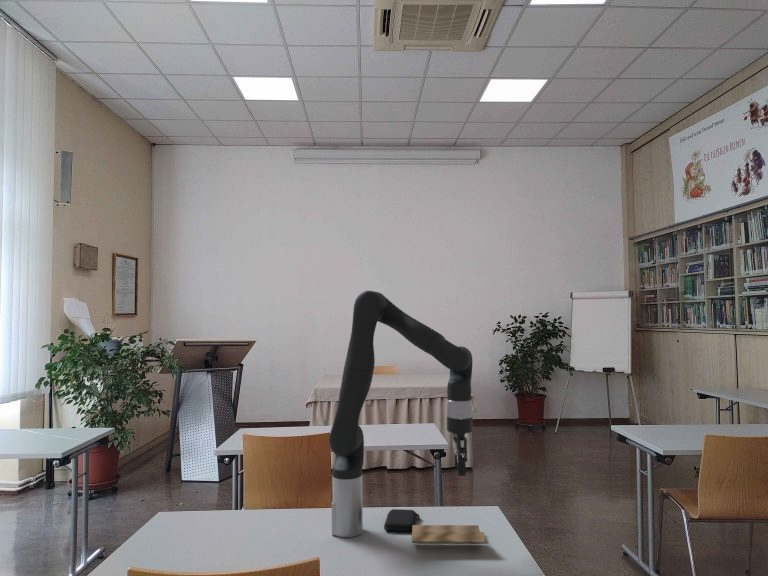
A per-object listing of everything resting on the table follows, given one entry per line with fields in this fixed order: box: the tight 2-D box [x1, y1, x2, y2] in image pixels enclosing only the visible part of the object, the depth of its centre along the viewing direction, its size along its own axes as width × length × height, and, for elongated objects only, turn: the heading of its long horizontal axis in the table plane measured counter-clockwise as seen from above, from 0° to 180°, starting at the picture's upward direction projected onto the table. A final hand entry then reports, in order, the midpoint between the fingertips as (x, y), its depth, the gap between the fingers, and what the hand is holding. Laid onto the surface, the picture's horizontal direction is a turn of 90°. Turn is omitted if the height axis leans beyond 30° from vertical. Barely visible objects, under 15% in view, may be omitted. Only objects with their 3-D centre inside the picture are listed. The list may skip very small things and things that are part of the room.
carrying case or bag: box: [383, 508, 421, 534], centre depth 172 cm, size 11×3×15 cm
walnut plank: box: [412, 524, 481, 532], centre depth 162 cm, size 20×6×2 cm, turn 87°
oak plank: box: [411, 531, 486, 544], centre depth 154 cm, size 20×8×2 cm, turn 87°
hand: (460, 471), depth 158 cm, fingers open, 8 cm apart
